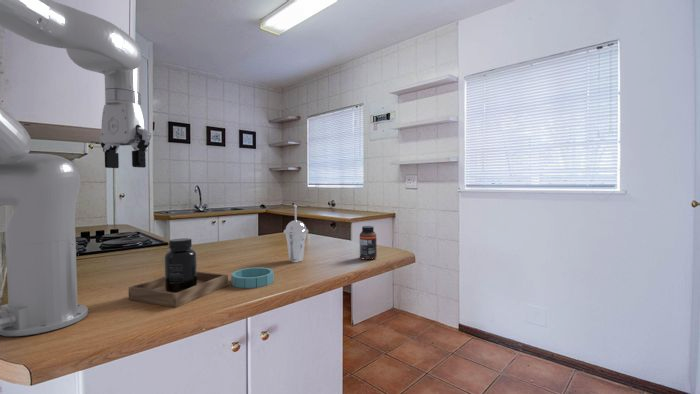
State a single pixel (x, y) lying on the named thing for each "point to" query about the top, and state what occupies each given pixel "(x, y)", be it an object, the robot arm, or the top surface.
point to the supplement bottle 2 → (368, 243)
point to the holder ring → (252, 277)
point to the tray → (158, 294)
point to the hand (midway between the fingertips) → (125, 167)
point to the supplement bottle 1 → (180, 266)
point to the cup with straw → (296, 238)
